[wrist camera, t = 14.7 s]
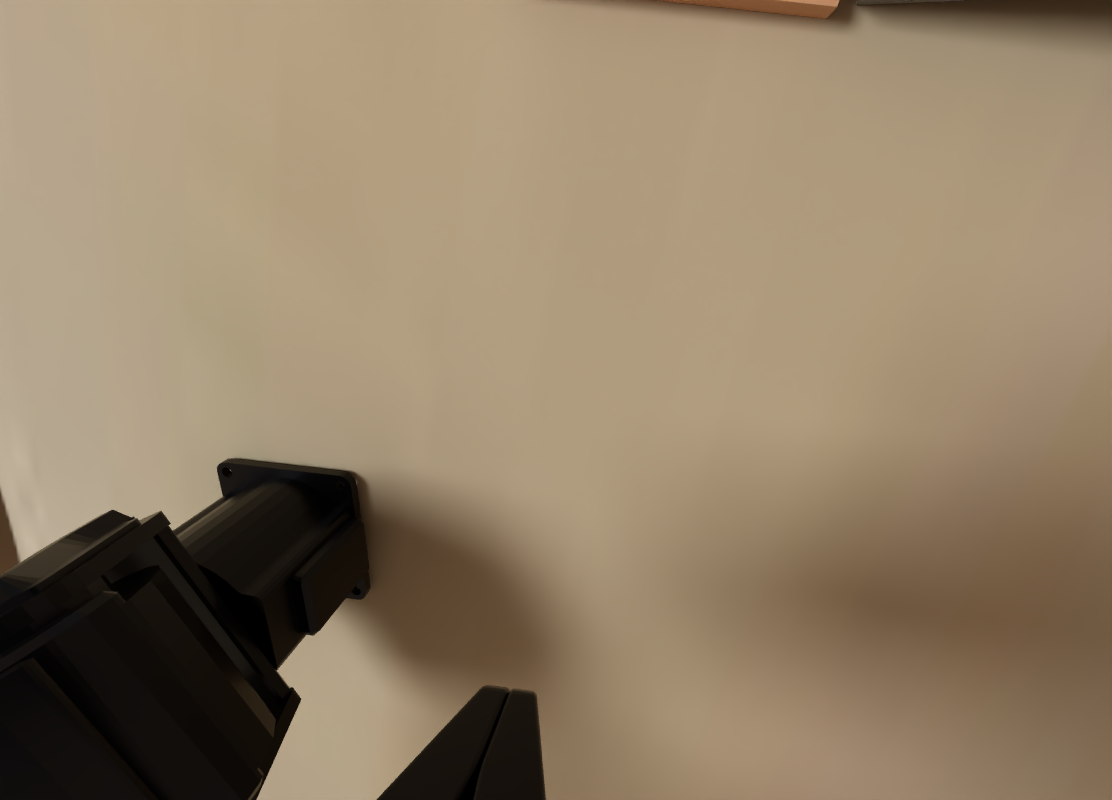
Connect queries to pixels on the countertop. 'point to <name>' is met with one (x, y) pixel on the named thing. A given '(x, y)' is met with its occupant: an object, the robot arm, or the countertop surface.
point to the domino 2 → (895, 1)
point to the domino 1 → (773, 6)
